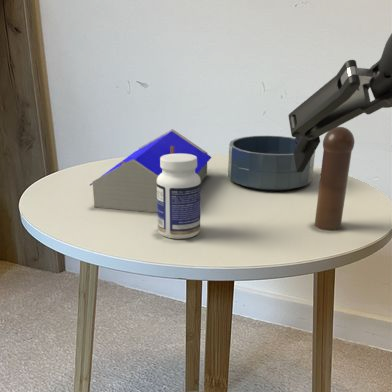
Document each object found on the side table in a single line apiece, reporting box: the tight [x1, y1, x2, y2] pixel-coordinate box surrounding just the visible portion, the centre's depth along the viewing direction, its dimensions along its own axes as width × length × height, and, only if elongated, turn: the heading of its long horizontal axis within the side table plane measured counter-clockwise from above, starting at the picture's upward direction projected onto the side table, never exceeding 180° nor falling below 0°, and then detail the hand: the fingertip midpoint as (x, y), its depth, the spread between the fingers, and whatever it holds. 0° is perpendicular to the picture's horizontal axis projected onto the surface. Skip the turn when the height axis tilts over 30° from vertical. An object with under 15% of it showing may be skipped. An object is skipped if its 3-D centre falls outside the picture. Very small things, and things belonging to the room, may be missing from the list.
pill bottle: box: [156, 153, 202, 240], centre depth 78 cm, size 6×6×10 cm
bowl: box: [227, 135, 316, 192], centre depth 101 cm, size 14×14×6 cm
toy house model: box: [89, 128, 212, 214], centre depth 95 cm, size 22×14×7 cm, turn 167°
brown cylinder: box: [314, 126, 355, 231], centre depth 80 cm, size 4×4×13 cm
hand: (350, 161), depth 75 cm, fingers open, 13 cm apart
